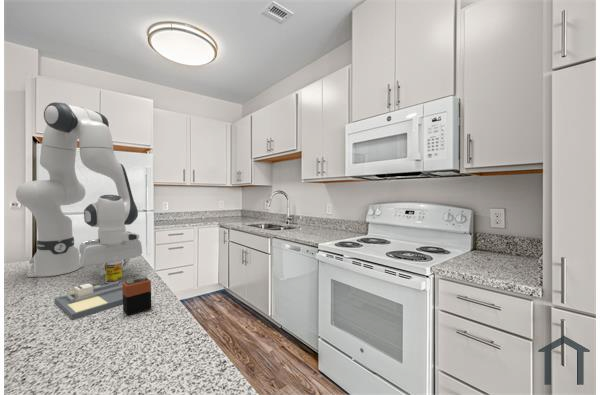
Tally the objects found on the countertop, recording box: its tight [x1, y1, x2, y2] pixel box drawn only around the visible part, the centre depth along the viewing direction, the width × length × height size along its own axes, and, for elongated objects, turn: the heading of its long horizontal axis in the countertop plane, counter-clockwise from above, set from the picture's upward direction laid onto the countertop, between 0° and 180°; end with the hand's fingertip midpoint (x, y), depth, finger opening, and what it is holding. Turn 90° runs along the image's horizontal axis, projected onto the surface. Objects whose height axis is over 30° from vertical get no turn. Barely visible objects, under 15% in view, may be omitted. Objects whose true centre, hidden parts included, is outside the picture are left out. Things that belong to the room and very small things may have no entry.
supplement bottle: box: [104, 256, 123, 285], centre depth 109 cm, size 6×6×10 cm
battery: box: [121, 275, 152, 316], centre depth 86 cm, size 4×7×10 cm, turn 137°
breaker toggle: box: [73, 282, 94, 299], centre depth 92 cm, size 4×4×4 cm
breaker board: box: [54, 282, 123, 321], centre depth 93 cm, size 18×18×3 cm
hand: (113, 272), depth 110 cm, fingers closed on supplement bottle, 5 cm apart
